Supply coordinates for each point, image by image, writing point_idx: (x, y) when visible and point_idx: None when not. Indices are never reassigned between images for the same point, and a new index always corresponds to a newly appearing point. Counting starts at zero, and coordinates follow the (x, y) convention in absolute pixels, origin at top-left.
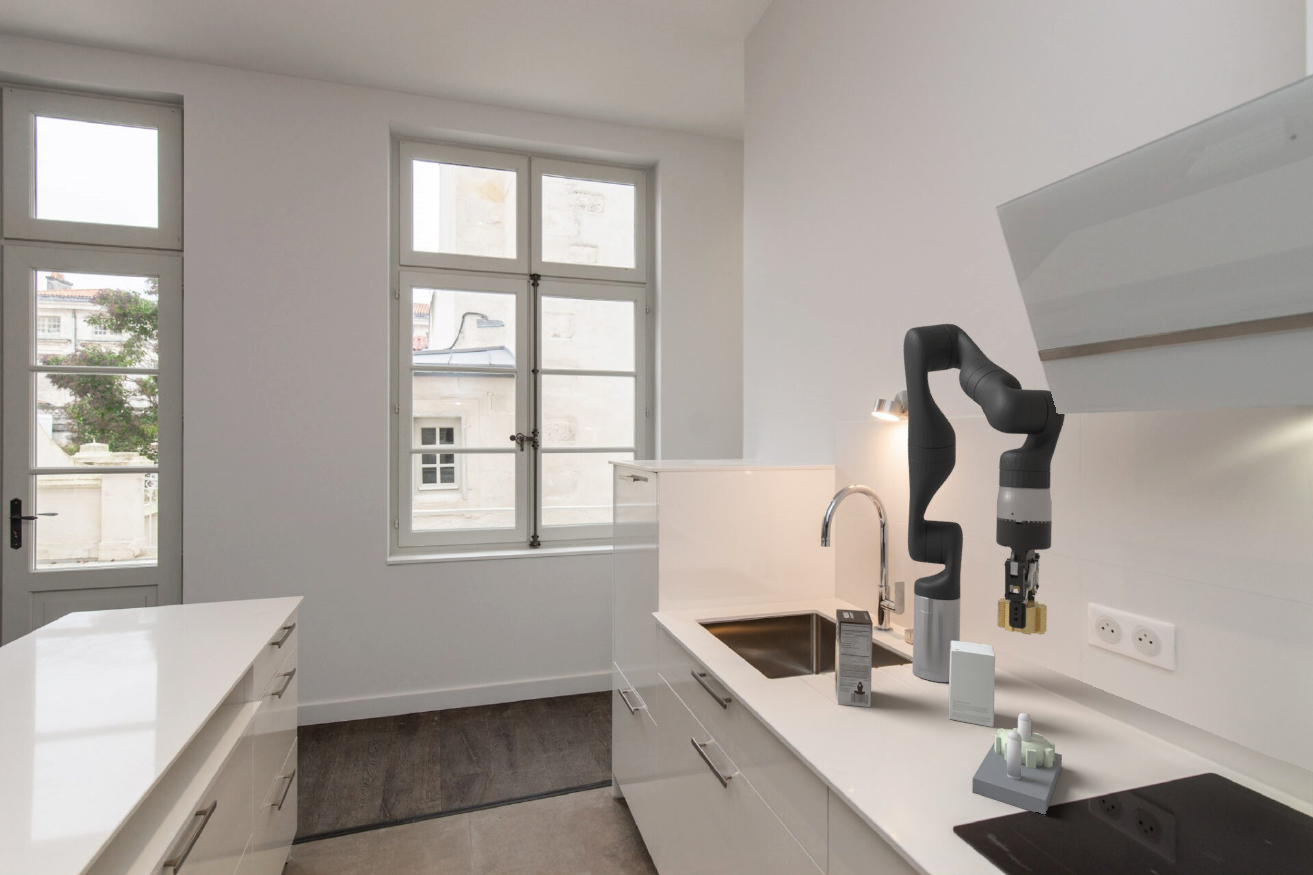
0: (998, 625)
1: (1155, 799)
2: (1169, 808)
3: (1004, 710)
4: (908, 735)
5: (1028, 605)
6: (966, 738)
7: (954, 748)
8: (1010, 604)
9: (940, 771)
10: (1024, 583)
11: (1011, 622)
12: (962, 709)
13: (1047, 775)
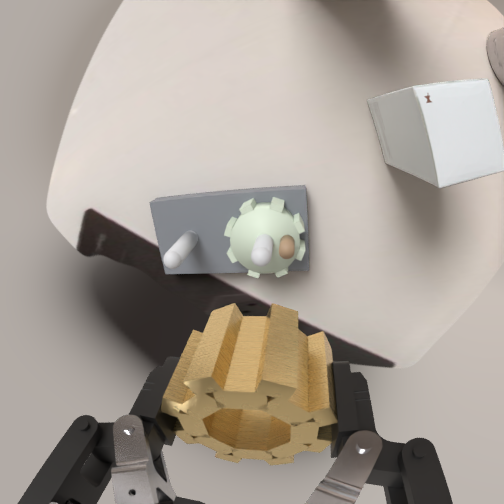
0: (217, 311)
1: None
2: None
3: None
4: (251, 71)
5: (220, 441)
6: (311, 139)
7: (260, 136)
8: (143, 411)
9: (175, 150)
10: (97, 494)
11: (154, 369)
12: (377, 118)
13: (228, 266)
